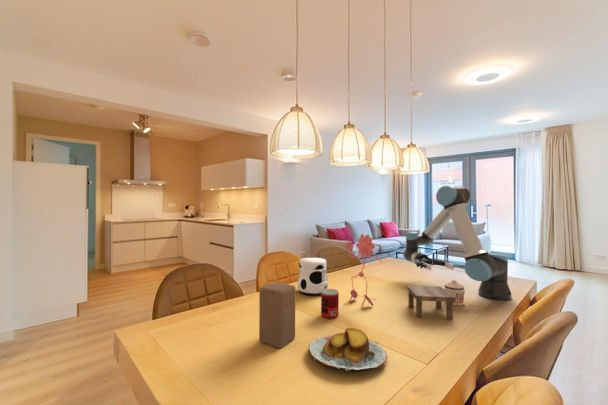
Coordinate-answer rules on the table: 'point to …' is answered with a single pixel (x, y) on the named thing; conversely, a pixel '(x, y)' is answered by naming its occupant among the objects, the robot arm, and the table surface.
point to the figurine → (365, 250)
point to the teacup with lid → (456, 292)
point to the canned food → (329, 303)
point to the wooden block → (277, 314)
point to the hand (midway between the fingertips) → (442, 267)
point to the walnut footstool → (430, 298)
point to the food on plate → (348, 350)
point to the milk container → (312, 276)
